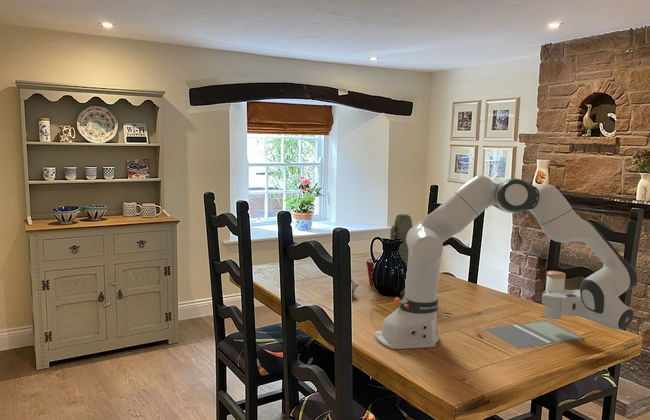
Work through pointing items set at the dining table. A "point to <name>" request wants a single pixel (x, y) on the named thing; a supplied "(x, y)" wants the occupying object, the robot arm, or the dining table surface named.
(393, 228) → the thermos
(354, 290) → the game die
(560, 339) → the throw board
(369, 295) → the dining table surface
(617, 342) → the dining table surface
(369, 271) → the plastic cup
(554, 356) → the dining table surface
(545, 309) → the ball canister
